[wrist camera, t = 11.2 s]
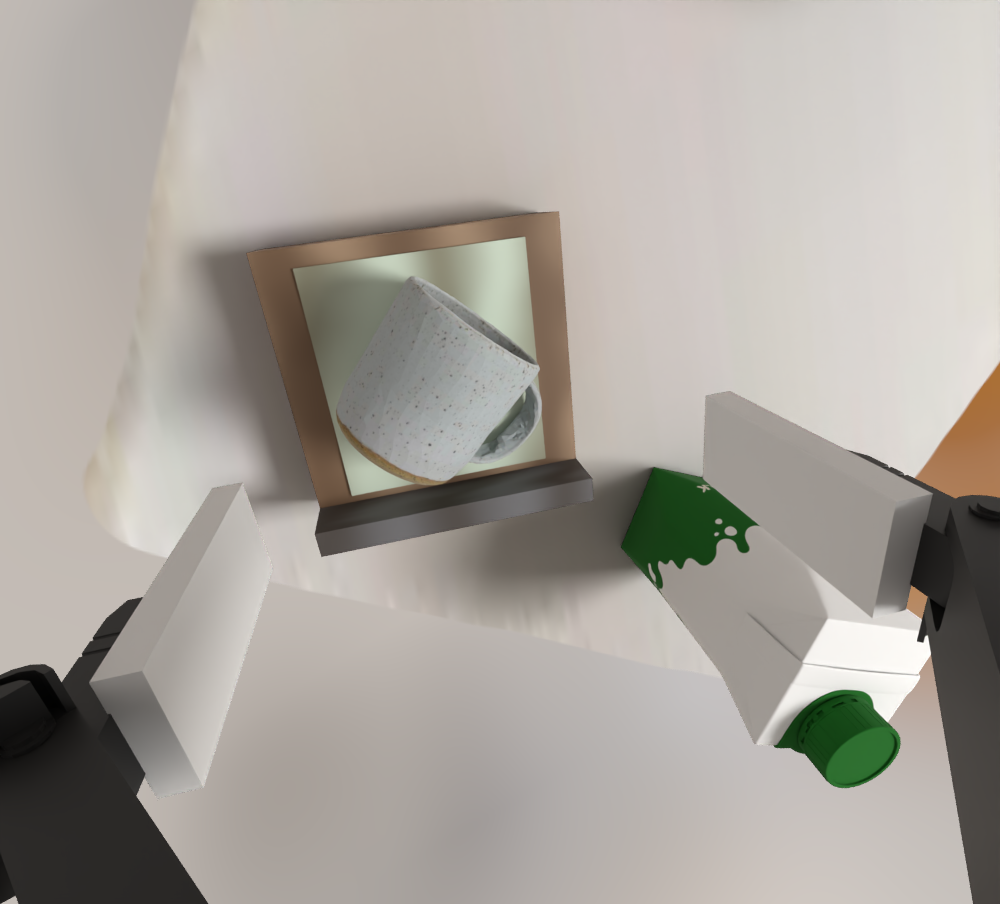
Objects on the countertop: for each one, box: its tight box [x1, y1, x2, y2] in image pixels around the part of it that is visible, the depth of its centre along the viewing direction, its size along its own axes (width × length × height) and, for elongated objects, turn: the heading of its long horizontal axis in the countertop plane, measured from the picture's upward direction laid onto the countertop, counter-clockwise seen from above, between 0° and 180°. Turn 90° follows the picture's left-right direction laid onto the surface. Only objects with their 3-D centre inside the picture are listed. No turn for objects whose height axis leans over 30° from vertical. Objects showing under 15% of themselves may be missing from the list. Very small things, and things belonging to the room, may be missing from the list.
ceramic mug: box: [336, 276, 542, 485], centre depth 28 cm, size 11×8×8 cm
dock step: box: [246, 212, 593, 557], centre depth 32 cm, size 16×16×7 cm
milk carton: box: [621, 467, 931, 788], centre depth 34 cm, size 9×9×20 cm
